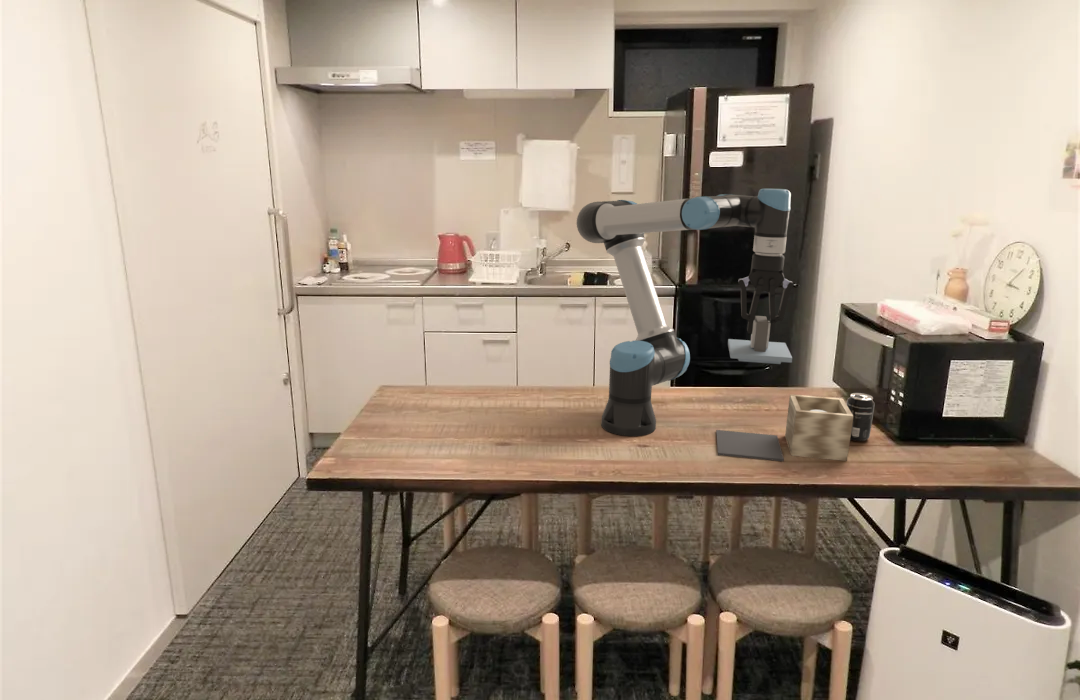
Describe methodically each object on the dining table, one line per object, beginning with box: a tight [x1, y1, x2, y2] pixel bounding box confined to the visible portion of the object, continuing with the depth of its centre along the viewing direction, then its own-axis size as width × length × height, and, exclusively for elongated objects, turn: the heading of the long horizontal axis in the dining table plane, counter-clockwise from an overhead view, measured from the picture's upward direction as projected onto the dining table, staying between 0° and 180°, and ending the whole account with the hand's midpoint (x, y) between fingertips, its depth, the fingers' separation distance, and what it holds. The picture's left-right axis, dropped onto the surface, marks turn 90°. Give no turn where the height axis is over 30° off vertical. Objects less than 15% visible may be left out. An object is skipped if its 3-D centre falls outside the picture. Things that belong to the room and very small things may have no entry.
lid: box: [727, 315, 793, 365], centre depth 179 cm, size 14×14×10 cm
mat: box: [715, 429, 785, 462], centre depth 187 cm, size 16×16×1 cm
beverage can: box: [846, 392, 875, 442], centre depth 192 cm, size 7×7×12 cm
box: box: [784, 393, 853, 462], centre depth 185 cm, size 13×13×12 cm
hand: (758, 346), depth 180 cm, fingers closed on lid, 3 cm apart
